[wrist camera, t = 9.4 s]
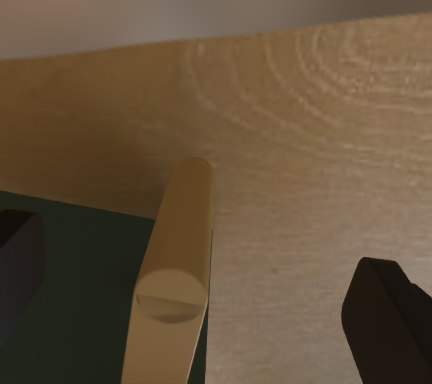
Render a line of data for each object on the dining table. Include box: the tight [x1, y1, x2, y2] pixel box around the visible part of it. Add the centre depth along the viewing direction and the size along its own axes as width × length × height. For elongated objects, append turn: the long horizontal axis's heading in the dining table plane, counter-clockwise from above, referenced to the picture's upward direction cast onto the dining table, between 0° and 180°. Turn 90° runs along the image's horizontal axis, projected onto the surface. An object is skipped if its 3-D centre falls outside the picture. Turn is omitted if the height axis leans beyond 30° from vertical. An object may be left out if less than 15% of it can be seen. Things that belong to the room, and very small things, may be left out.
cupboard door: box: [0, 157, 215, 384], centre depth 16 cm, size 8×14×16 cm, turn 78°
